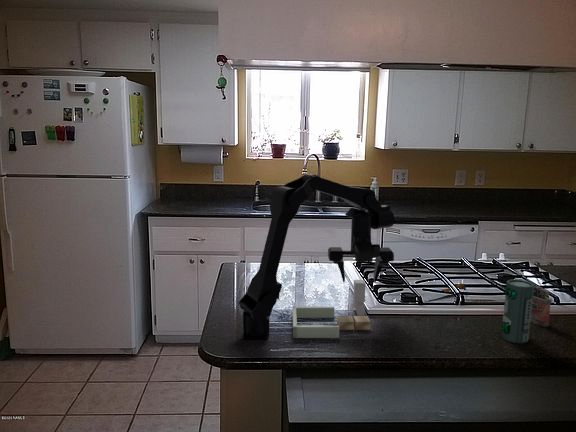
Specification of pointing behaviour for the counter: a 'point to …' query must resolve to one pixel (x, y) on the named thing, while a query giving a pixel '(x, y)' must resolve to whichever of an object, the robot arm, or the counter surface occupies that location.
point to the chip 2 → (361, 322)
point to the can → (517, 311)
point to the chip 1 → (345, 322)
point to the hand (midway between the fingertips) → (359, 282)
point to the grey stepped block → (359, 297)
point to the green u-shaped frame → (314, 330)
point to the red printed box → (540, 307)
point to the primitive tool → (456, 286)
